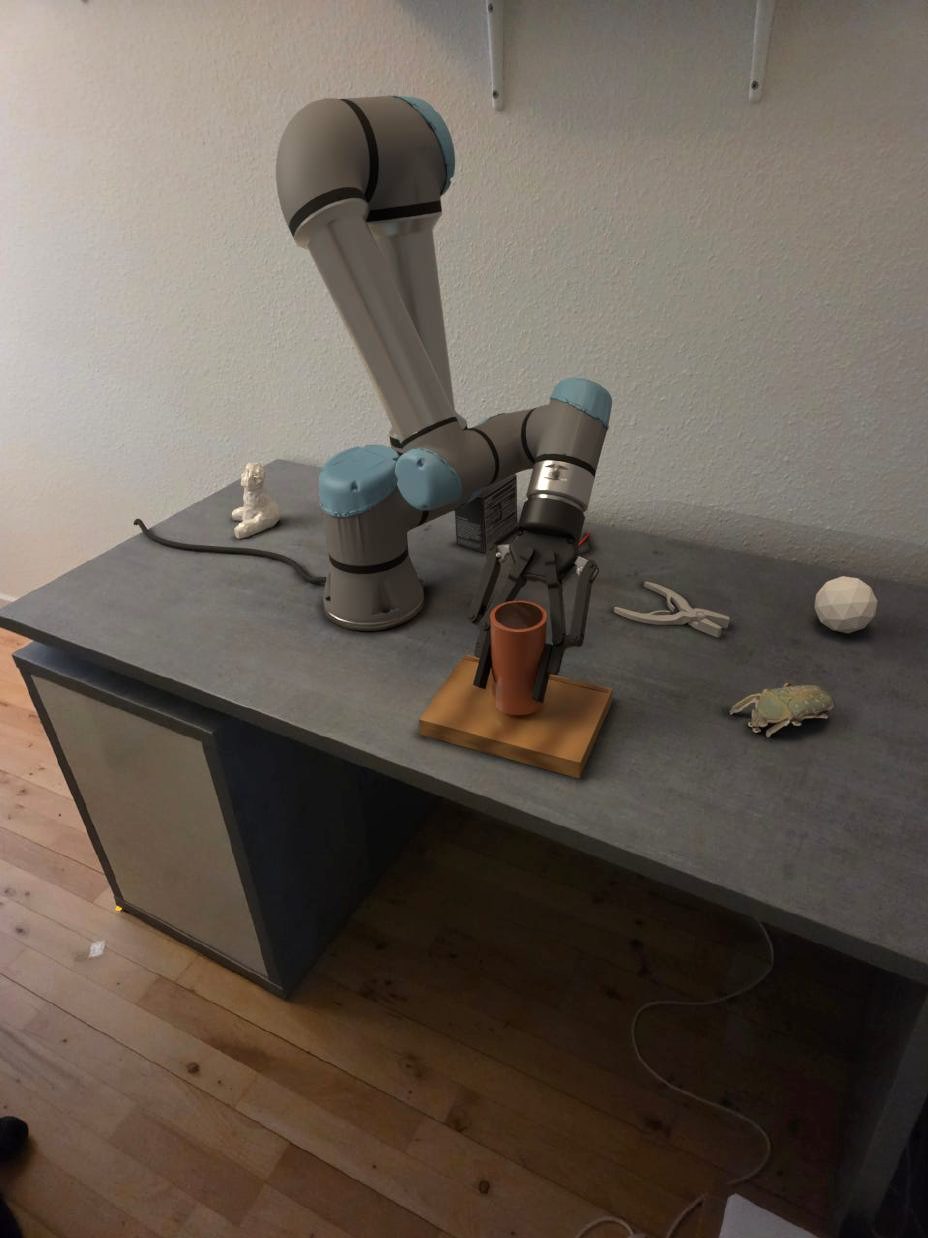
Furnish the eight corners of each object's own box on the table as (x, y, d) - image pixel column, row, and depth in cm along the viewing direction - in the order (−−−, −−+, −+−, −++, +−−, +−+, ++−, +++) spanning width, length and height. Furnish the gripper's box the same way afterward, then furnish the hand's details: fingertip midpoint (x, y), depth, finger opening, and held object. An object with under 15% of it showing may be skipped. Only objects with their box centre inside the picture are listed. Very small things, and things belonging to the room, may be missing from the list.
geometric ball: (821, 635, 115) (816, 580, 115) (883, 631, 110) (877, 574, 111) (812, 635, 108) (806, 578, 109) (877, 631, 104) (871, 570, 104)
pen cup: (484, 708, 94) (481, 624, 87) (503, 677, 99) (502, 595, 92) (534, 720, 92) (536, 635, 85) (552, 688, 97) (554, 605, 90)
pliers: (646, 575, 122) (740, 607, 114) (645, 584, 123) (738, 616, 114) (613, 603, 115) (710, 639, 107) (613, 612, 116) (708, 648, 108)
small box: (488, 520, 142) (487, 466, 137) (519, 529, 139) (519, 474, 133) (453, 544, 135) (451, 488, 130) (485, 554, 132) (484, 496, 126)
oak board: (419, 734, 96) (418, 718, 94) (465, 669, 106) (465, 653, 105) (579, 779, 89) (580, 762, 87) (611, 704, 99) (612, 687, 98)
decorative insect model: (738, 678, 101) (751, 652, 97) (824, 710, 98) (840, 685, 95) (724, 728, 95) (737, 703, 92) (814, 763, 93) (832, 739, 89)
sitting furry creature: (232, 517, 147) (219, 456, 140) (279, 510, 149) (268, 449, 142) (236, 540, 139) (222, 477, 133) (285, 532, 141) (274, 469, 135)
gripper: (471, 484, 94) (420, 670, 91) (632, 507, 87) (583, 709, 84) (488, 506, 101) (442, 680, 98) (639, 529, 94) (594, 717, 91)
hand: (507, 693), depth 91 cm, fingers closed on pen cup, 6 cm apart
